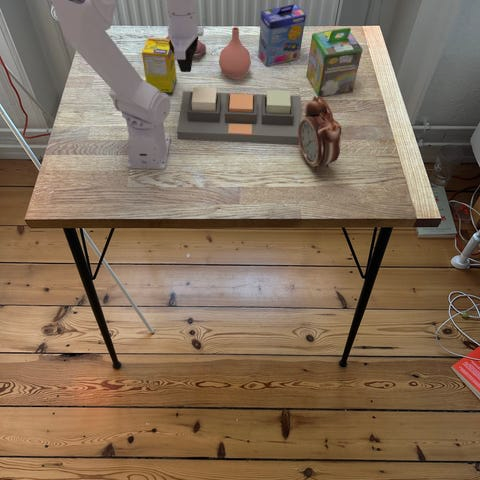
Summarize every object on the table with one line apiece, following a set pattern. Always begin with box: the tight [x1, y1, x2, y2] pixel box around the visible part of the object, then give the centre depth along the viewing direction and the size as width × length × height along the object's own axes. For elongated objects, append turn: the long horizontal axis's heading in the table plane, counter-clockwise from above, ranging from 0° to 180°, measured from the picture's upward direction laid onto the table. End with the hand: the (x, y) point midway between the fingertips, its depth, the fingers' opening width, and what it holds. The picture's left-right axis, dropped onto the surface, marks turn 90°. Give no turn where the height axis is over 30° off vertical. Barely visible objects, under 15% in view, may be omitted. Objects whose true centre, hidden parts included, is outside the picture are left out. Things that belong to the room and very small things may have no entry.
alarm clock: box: [298, 95, 342, 173], centre depth 101 cm, size 11×5×15 cm, turn 21°
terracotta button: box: [229, 93, 253, 113], centre depth 111 cm, size 5×5×3 cm
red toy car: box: [165, 34, 207, 57], centre depth 127 cm, size 10×5×7 cm, turn 73°
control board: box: [176, 90, 303, 145], centre depth 112 cm, size 14×27×4 cm, turn 88°
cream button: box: [192, 86, 218, 111], centre depth 110 cm, size 5×5×3 cm
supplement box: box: [141, 37, 178, 96], centre depth 116 cm, size 6×6×11 cm
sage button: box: [266, 89, 291, 114], centre depth 110 cm, size 5×5×3 cm
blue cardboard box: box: [257, 3, 307, 67], centre depth 124 cm, size 10×6×14 cm, turn 115°
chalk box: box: [306, 27, 364, 97], centre depth 117 cm, size 9×9×15 cm
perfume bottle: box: [218, 26, 252, 79], centre depth 120 cm, size 8×8×12 cm
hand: (185, 70), depth 108 cm, fingers closed
